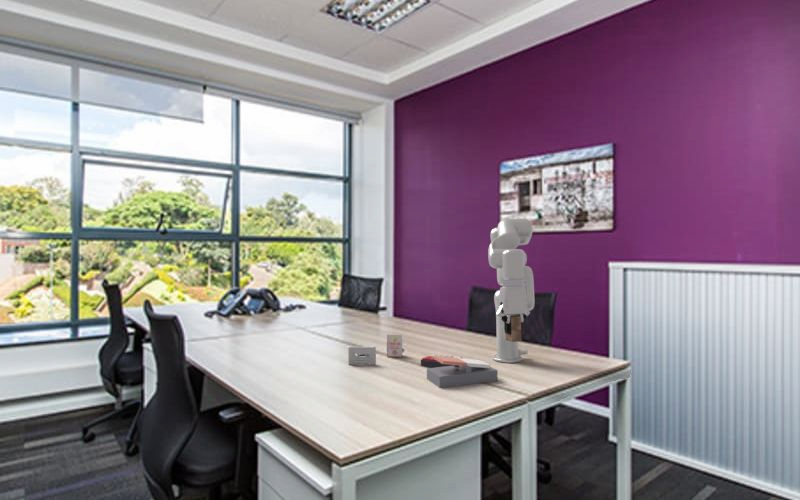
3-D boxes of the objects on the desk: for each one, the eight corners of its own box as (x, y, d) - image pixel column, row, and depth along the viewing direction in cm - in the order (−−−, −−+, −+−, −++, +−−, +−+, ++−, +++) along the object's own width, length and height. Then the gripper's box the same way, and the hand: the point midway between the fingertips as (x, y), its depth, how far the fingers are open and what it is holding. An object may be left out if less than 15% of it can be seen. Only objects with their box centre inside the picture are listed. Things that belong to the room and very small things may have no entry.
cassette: (348, 365, 196) (348, 347, 196) (349, 363, 198) (348, 346, 198) (375, 365, 195) (375, 347, 195) (376, 364, 197) (376, 346, 197)
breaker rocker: (478, 365, 180) (479, 360, 180) (489, 370, 172) (490, 365, 172) (433, 360, 173) (434, 355, 173) (442, 366, 165) (443, 360, 165)
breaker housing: (481, 372, 182) (481, 357, 182) (497, 380, 171) (497, 364, 171) (426, 378, 174) (426, 362, 174) (439, 387, 163) (439, 370, 163)
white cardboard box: (388, 355, 213) (388, 333, 213) (402, 355, 213) (402, 334, 212) (387, 356, 210) (386, 335, 210) (401, 357, 209) (401, 335, 209)
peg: (515, 339, 168) (514, 315, 168) (521, 341, 164) (520, 316, 164) (505, 340, 166) (505, 315, 167) (512, 342, 163) (511, 317, 163)
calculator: (434, 353, 202) (463, 355, 193) (434, 362, 202) (464, 366, 193) (420, 358, 194) (449, 361, 184) (420, 368, 194) (450, 371, 184)
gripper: (526, 281, 171) (526, 329, 172) (487, 283, 166) (488, 333, 166) (538, 283, 164) (538, 333, 165) (498, 285, 159) (499, 337, 159)
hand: (513, 332), depth 165 cm, fingers closed on peg, 4 cm apart
